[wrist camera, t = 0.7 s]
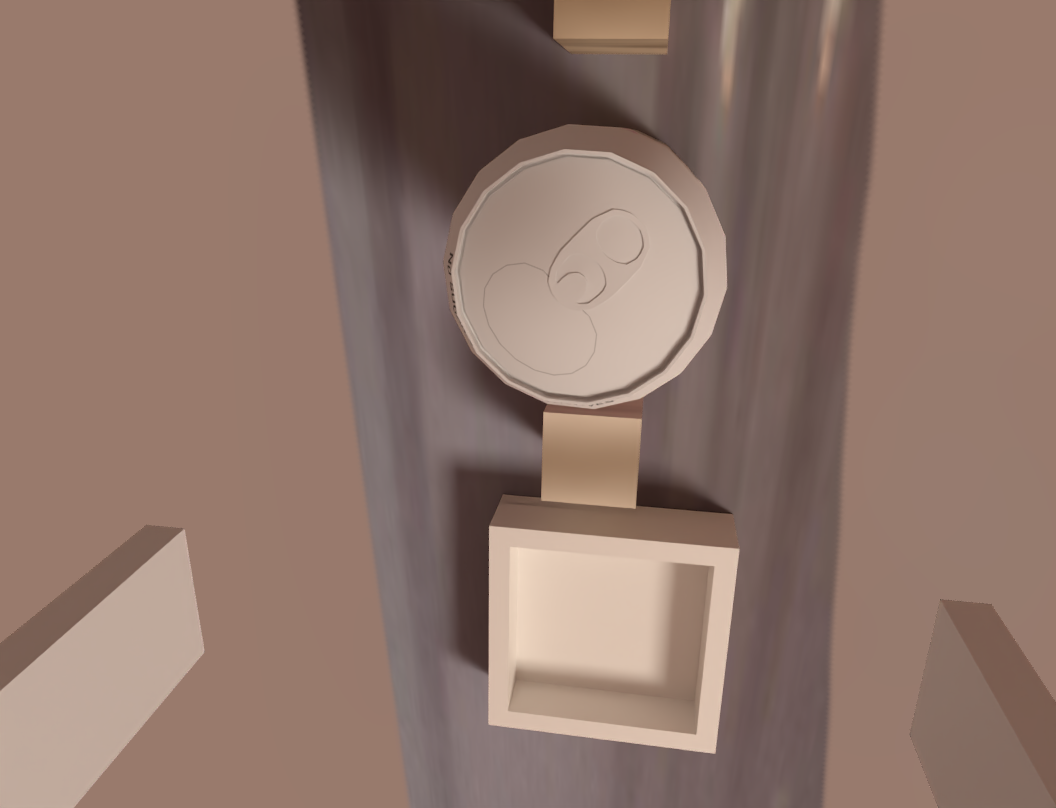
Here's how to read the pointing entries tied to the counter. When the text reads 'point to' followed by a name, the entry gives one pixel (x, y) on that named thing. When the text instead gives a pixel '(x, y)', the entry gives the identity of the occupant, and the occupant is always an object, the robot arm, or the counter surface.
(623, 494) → the birch block
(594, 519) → the off-white tray
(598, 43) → the maple block
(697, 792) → the counter surface
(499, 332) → the supplement can
